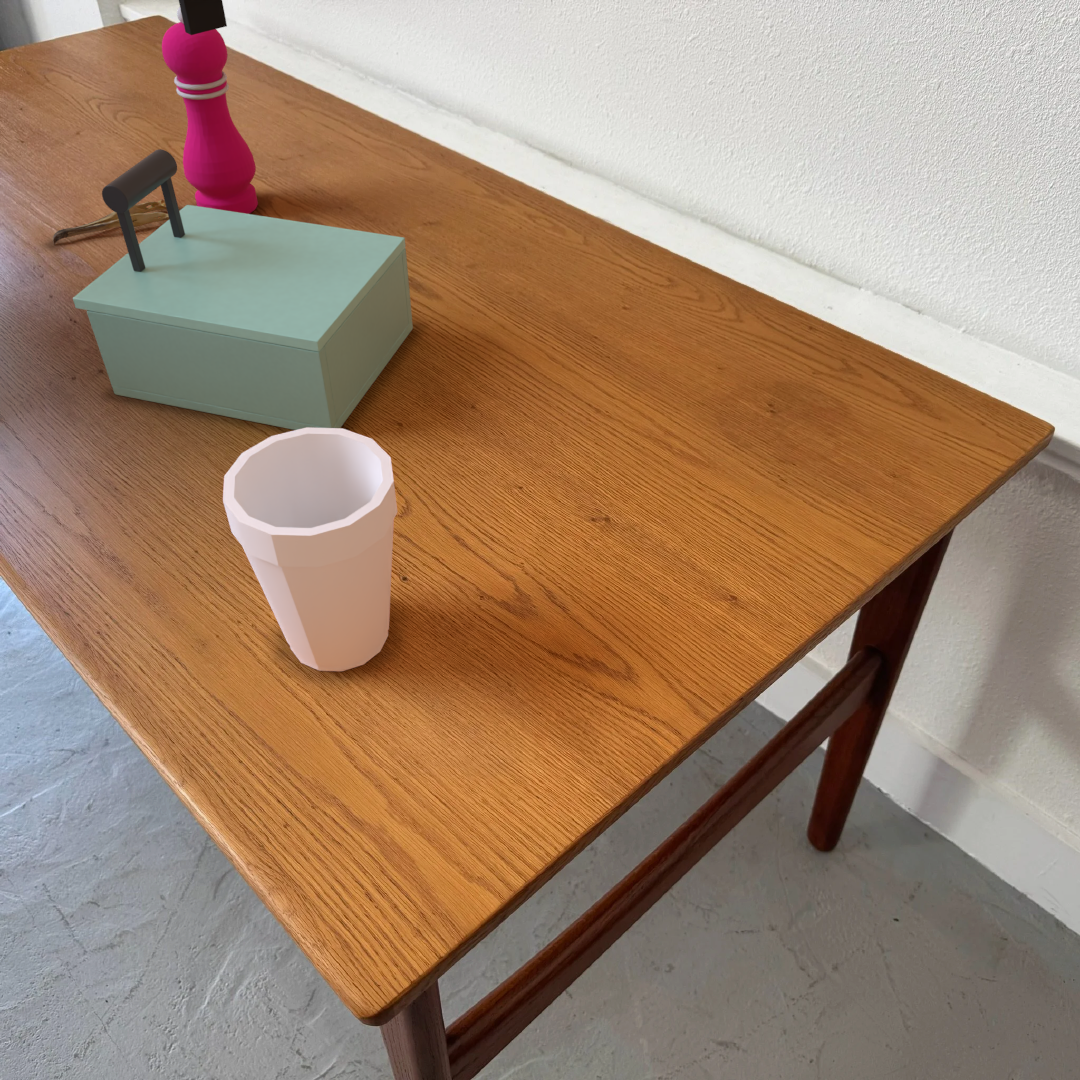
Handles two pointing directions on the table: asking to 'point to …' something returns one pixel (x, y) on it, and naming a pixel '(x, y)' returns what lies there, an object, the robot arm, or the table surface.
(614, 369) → the table surface
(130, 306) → the freezer lid
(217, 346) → the box
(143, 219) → the tongs
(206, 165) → the pepper mill
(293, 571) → the foam cup
